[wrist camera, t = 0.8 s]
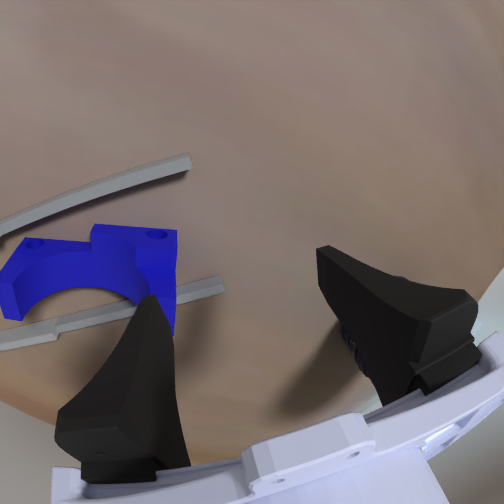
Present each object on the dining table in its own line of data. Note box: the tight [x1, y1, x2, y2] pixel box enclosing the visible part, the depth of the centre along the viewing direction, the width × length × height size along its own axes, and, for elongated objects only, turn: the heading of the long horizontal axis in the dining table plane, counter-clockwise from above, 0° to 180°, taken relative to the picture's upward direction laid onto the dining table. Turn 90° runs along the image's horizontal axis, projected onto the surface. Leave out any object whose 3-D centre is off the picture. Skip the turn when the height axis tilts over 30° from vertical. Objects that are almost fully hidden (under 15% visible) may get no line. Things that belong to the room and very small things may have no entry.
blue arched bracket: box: [0, 224, 177, 336], centre depth 19 cm, size 12×4×6 cm, turn 78°
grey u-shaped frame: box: [0, 153, 225, 351], centre depth 19 cm, size 11×30×2 cm, turn 100°
